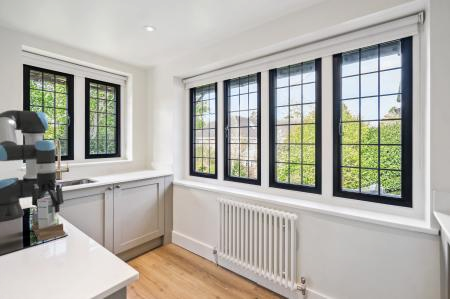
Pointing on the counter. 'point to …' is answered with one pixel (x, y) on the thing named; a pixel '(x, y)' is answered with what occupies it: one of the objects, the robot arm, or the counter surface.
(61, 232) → the book rack
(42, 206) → the syrup box
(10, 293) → the counter surface
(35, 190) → the robot arm
